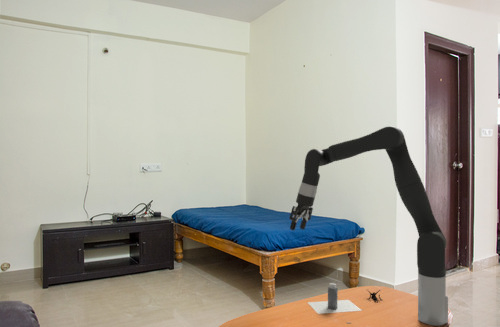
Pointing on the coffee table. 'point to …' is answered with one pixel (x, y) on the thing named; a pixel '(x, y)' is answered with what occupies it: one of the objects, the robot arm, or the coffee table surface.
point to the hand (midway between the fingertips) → (297, 229)
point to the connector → (332, 296)
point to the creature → (374, 296)
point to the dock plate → (342, 307)
